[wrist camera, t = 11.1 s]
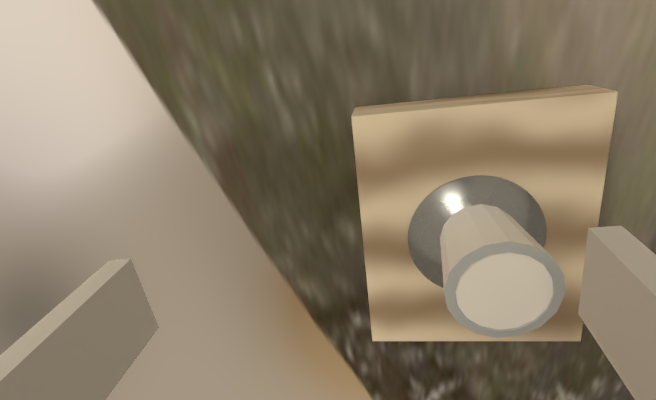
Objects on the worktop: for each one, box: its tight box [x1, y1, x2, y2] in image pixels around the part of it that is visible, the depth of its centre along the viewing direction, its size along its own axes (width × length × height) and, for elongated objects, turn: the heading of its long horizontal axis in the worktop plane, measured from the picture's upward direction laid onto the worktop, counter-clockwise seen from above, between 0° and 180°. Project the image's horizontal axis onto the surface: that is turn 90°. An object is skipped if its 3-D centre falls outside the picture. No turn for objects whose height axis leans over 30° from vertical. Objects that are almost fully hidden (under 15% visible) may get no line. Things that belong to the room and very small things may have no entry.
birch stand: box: [351, 84, 618, 341], centre depth 32 cm, size 20×17×4 cm
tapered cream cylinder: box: [440, 204, 565, 338], centre depth 27 cm, size 7×7×7 cm
